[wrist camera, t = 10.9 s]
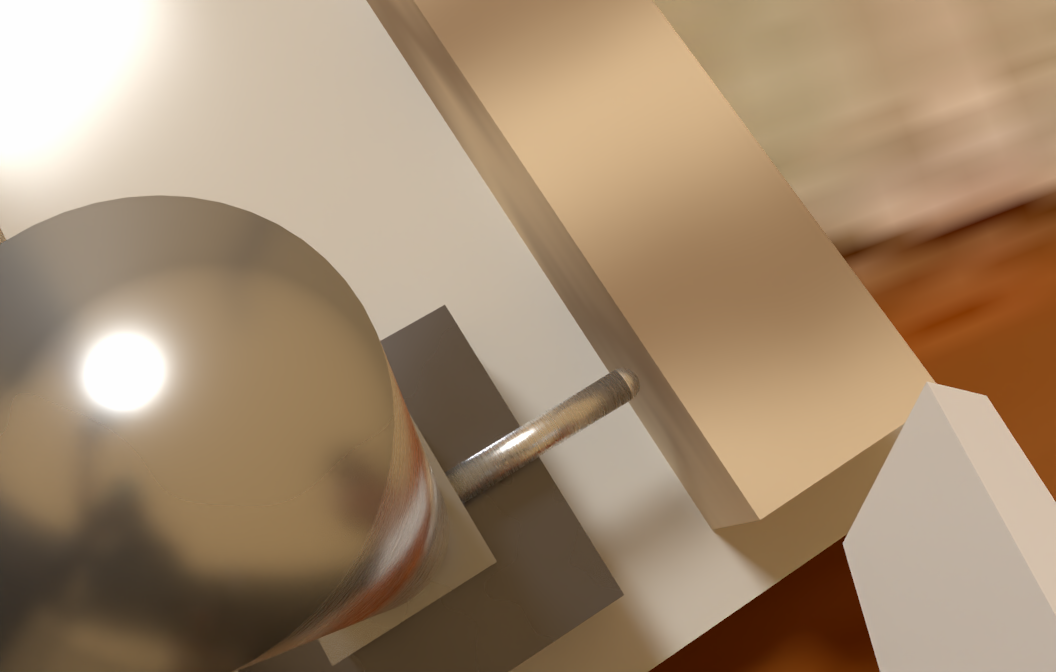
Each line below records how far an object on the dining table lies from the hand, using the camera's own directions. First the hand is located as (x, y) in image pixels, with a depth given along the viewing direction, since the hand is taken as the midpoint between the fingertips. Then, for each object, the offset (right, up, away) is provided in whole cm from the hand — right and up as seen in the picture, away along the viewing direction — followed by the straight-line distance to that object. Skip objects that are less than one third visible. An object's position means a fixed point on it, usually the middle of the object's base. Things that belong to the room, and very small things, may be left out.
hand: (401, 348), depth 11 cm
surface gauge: (0, -3, +6) cm, 6 cm away
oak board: (+1, +6, +8) cm, 11 cm away
